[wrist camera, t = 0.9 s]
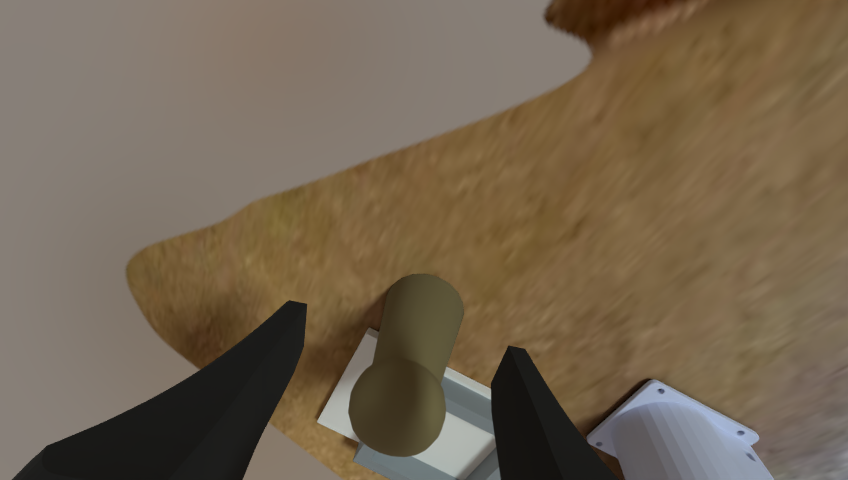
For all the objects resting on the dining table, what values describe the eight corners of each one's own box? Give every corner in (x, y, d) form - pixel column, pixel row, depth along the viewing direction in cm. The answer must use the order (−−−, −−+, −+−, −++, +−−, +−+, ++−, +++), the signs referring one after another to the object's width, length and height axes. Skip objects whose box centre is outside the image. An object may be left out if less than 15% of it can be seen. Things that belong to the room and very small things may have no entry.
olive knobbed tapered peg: (414, 351, 30) (377, 487, 20) (370, 294, 28) (307, 412, 19) (479, 322, 28) (474, 458, 18) (435, 260, 26) (403, 371, 16)
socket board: (541, 414, 31) (546, 445, 28) (469, 487, 36) (468, 519, 33) (369, 327, 30) (357, 350, 27) (320, 414, 35) (307, 441, 32)
